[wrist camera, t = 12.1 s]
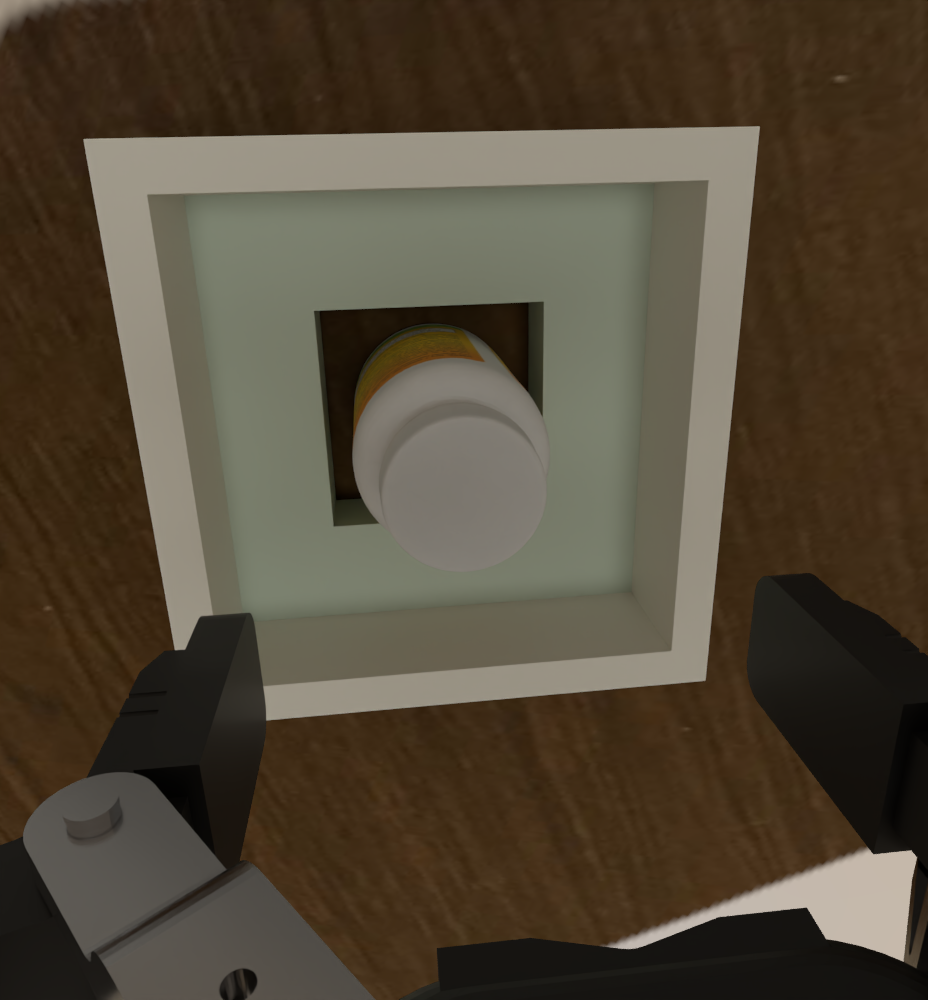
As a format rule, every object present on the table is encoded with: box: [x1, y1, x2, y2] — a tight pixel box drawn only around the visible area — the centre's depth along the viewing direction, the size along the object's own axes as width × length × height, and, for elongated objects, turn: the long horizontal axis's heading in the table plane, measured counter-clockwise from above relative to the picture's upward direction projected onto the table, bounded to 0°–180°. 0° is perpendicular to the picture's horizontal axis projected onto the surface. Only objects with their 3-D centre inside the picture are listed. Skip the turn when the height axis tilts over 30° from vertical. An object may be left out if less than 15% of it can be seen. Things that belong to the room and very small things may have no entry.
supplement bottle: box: [352, 324, 550, 572], centre depth 23 cm, size 5×5×10 cm
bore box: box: [83, 126, 760, 720], centre depth 25 cm, size 16×16×6 cm
